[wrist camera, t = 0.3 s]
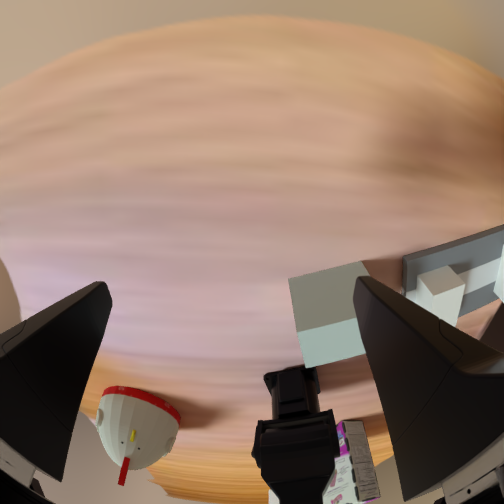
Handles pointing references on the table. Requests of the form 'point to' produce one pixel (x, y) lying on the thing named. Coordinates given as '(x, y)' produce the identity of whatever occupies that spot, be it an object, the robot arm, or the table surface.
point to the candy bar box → (352, 468)
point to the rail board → (459, 263)
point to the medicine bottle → (273, 498)
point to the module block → (327, 314)
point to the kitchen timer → (135, 427)
